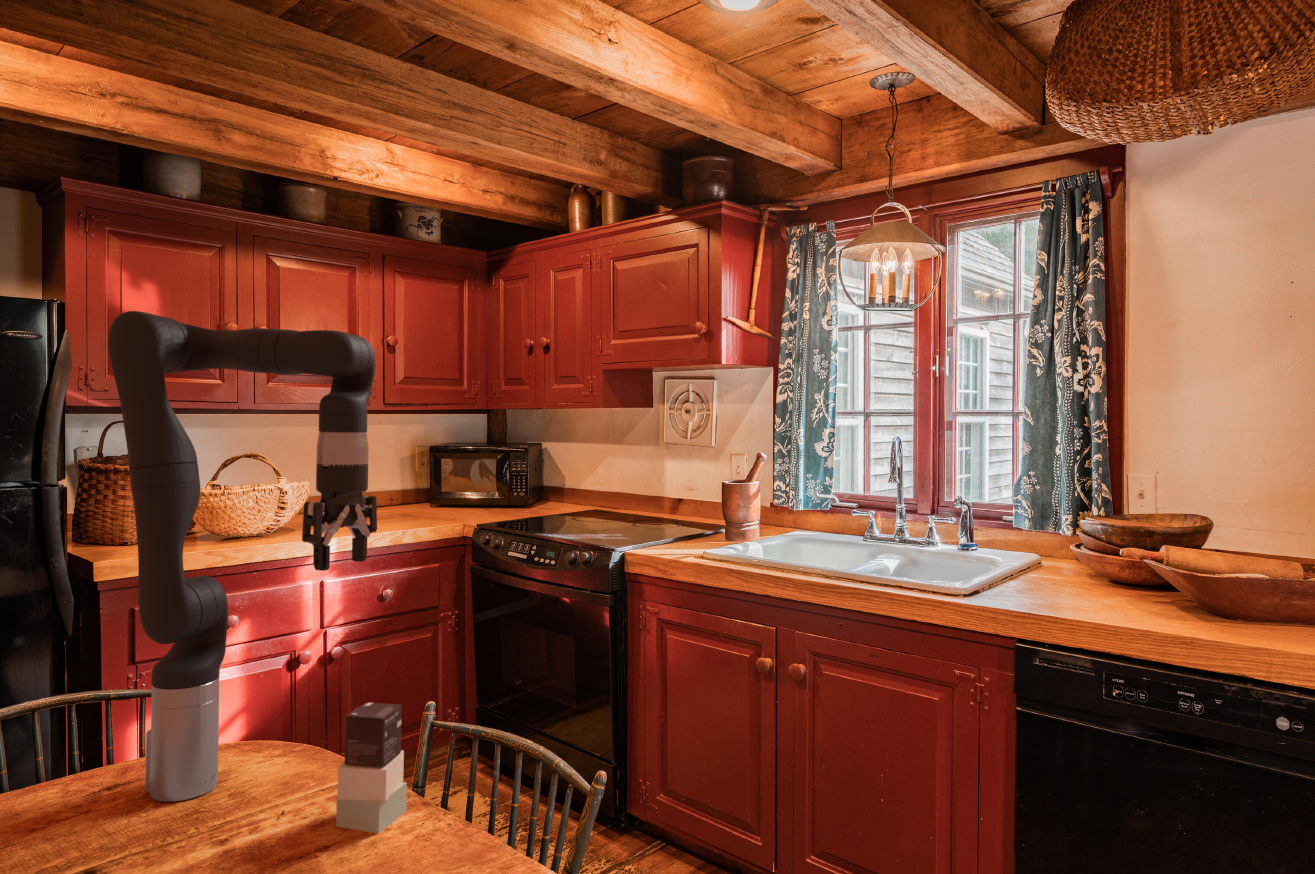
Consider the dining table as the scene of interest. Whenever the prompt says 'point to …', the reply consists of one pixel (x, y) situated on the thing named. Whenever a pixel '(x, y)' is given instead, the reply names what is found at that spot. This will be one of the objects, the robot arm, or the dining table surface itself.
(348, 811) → the tower base
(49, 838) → the dining table surface
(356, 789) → the tower top
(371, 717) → the box
